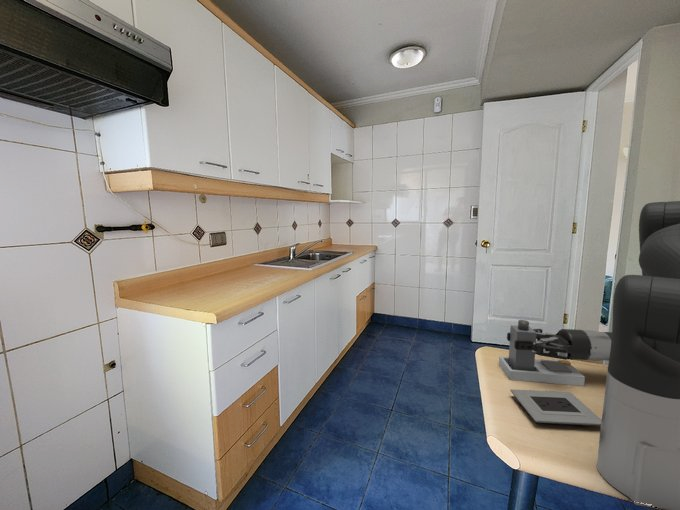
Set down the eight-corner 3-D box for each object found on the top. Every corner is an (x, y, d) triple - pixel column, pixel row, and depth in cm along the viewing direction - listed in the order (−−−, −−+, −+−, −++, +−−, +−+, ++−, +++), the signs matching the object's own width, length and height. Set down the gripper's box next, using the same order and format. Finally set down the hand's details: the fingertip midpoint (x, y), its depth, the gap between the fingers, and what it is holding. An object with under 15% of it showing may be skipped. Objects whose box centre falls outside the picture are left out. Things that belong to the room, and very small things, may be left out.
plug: (533, 372, 75) (537, 325, 74) (514, 371, 76) (517, 324, 75) (526, 364, 80) (529, 319, 78) (508, 362, 81) (511, 318, 79)
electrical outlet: (569, 400, 67) (570, 390, 67) (606, 433, 57) (607, 422, 56) (509, 397, 68) (510, 388, 68) (535, 430, 58) (536, 419, 58)
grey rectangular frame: (584, 385, 72) (585, 375, 71) (509, 379, 75) (510, 369, 75) (565, 369, 80) (566, 359, 79) (498, 364, 83) (499, 354, 82)
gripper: (568, 320, 81) (502, 318, 84) (604, 342, 67) (523, 338, 70) (566, 346, 82) (500, 342, 85) (601, 373, 68) (521, 367, 71)
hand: (511, 340), depth 78 cm, fingers closed on plug, 4 cm apart
